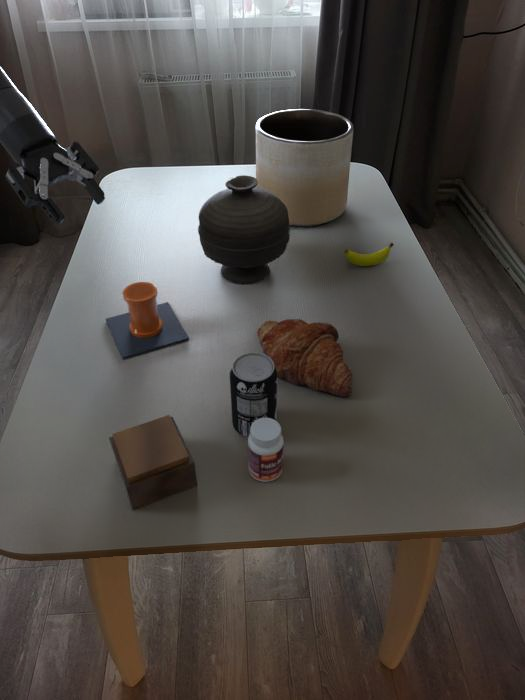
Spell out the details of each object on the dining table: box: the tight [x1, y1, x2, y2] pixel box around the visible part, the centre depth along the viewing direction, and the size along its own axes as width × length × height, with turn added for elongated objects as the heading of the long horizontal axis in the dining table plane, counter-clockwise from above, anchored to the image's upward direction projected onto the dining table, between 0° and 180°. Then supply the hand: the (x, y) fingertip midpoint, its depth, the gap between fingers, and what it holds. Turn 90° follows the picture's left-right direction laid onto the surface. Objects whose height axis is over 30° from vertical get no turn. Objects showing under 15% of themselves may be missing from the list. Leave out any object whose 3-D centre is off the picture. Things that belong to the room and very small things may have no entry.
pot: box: [197, 174, 291, 286], centre depth 109 cm, size 18×18×20 cm
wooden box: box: [108, 414, 198, 511], centre depth 75 cm, size 9×9×6 cm
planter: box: [255, 108, 354, 227], centre depth 130 cm, size 22×22×20 cm
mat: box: [105, 301, 190, 360], centre depth 100 cm, size 12×12×1 cm
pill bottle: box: [247, 418, 285, 483], centre depth 74 cm, size 5×5×8 cm
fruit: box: [344, 242, 395, 267], centre depth 115 cm, size 10×2×5 cm, turn 97°
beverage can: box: [229, 351, 278, 439], centre depth 79 cm, size 7×7×12 cm
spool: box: [122, 281, 163, 338], centre depth 98 cm, size 6×6×8 cm
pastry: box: [256, 318, 353, 398], centre depth 91 cm, size 17×15×8 cm
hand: (82, 211), depth 91 cm, fingers open, 8 cm apart
